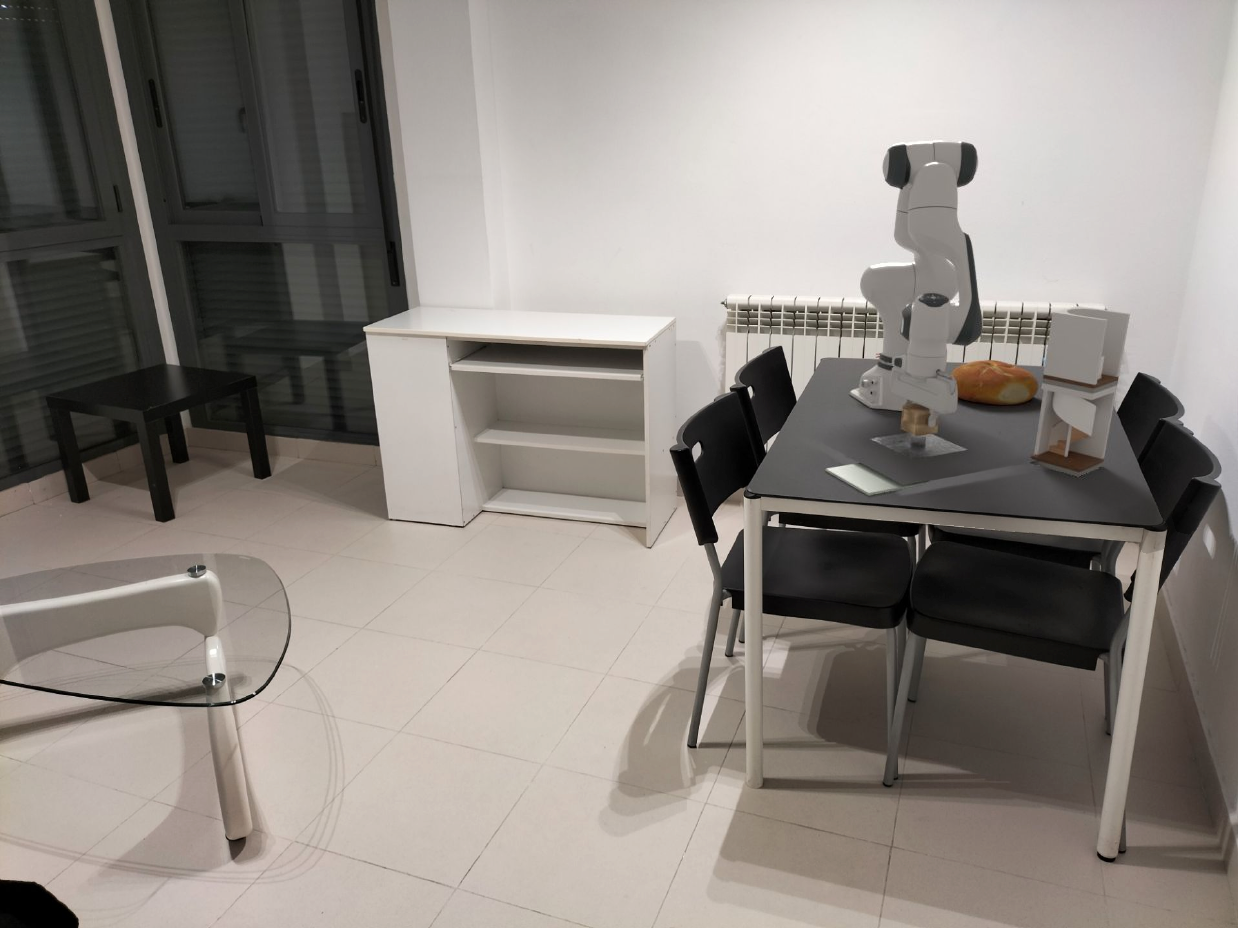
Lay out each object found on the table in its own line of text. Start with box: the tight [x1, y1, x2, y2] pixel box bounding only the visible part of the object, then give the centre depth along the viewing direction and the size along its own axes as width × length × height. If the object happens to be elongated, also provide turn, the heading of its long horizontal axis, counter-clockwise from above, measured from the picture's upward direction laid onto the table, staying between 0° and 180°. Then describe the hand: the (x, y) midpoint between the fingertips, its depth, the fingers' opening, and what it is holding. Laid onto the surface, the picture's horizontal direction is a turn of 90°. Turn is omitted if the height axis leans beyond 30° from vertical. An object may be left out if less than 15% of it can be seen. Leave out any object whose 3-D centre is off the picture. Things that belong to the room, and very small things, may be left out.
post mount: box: [870, 432, 968, 460], centre depth 220 cm, size 16×16×6 cm
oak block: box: [900, 403, 940, 436], centre depth 219 cm, size 6×6×6 cm
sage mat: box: [825, 462, 931, 497], centre depth 205 cm, size 16×16×1 cm
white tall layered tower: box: [1029, 305, 1131, 477], centre depth 204 cm, size 11×11×35 cm
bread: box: [950, 359, 1039, 406], centre depth 260 cm, size 23×23×10 cm
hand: (919, 421), depth 219 cm, fingers closed on oak block, 6 cm apart
